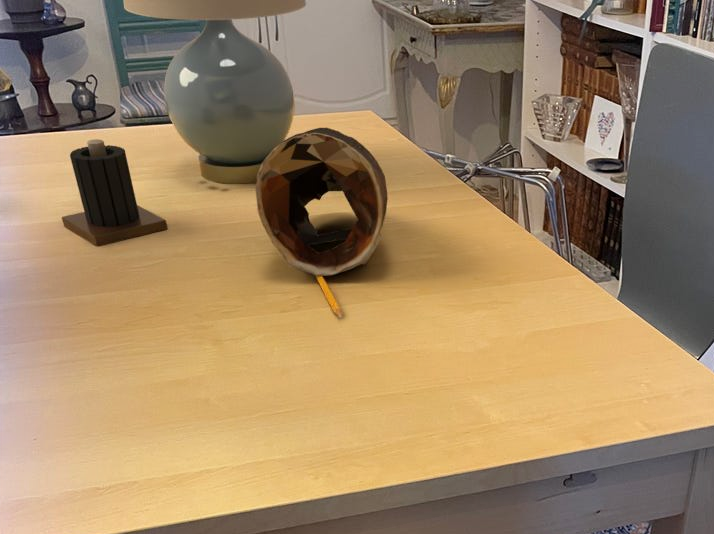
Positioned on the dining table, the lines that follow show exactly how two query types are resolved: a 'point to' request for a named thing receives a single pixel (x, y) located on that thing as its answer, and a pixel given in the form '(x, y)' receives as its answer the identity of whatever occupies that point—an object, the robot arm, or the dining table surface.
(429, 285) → the dining table surface
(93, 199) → the ribbed black tube
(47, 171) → the dining table surface
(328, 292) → the pencil
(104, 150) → the peg stand
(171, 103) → the lamp
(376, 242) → the clay pot
